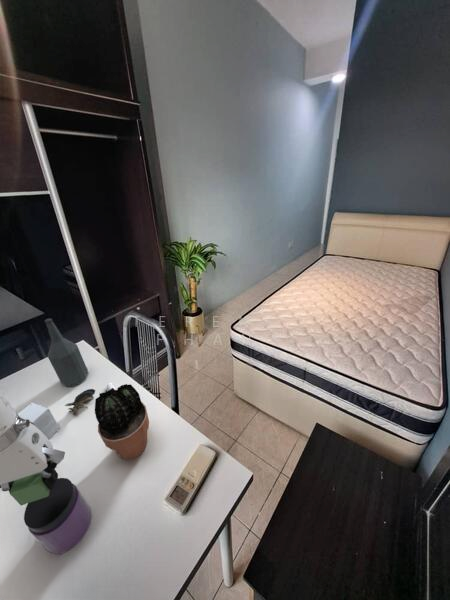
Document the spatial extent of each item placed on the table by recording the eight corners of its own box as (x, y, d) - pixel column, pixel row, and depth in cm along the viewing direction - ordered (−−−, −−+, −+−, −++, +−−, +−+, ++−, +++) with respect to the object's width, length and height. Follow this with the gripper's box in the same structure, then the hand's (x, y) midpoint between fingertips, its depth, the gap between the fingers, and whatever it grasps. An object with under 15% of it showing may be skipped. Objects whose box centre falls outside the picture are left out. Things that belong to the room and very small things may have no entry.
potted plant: (156, 459, 74) (137, 402, 62) (107, 475, 71) (78, 418, 59) (154, 420, 85) (138, 366, 74) (112, 432, 82) (89, 378, 70)
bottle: (85, 366, 111) (60, 309, 97) (92, 377, 105) (66, 318, 91) (59, 378, 105) (29, 320, 91) (65, 391, 99) (33, 330, 85)
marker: (106, 385, 100) (104, 381, 99) (111, 383, 102) (109, 379, 101) (122, 414, 88) (120, 410, 87) (128, 410, 89) (126, 406, 88)
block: (20, 506, 49) (8, 493, 47) (29, 479, 54) (19, 467, 51) (48, 496, 51) (38, 483, 48) (55, 471, 55) (46, 458, 52)
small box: (28, 436, 83) (14, 415, 78) (44, 421, 87) (31, 401, 82) (45, 443, 80) (31, 423, 75) (60, 428, 85) (48, 407, 80)
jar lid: (21, 541, 51) (15, 536, 50) (36, 491, 59) (32, 486, 58) (71, 522, 53) (67, 517, 52) (80, 477, 61) (77, 471, 60)
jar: (39, 562, 55) (15, 540, 50) (52, 510, 64) (33, 486, 58) (88, 543, 58) (70, 520, 52) (94, 495, 66) (79, 471, 61)
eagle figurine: (86, 416, 87) (101, 393, 94) (68, 406, 84) (85, 382, 91) (76, 418, 91) (91, 396, 98) (59, 409, 88) (76, 386, 95)
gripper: (55, 403, 49) (85, 456, 57) (-50, 430, 44) (-1, 483, 53) (43, 437, 42) (79, 491, 51) (-82, 473, 38) (-19, 525, 47)
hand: (38, 486), depth 52 cm, fingers closed on block, 5 cm apart
